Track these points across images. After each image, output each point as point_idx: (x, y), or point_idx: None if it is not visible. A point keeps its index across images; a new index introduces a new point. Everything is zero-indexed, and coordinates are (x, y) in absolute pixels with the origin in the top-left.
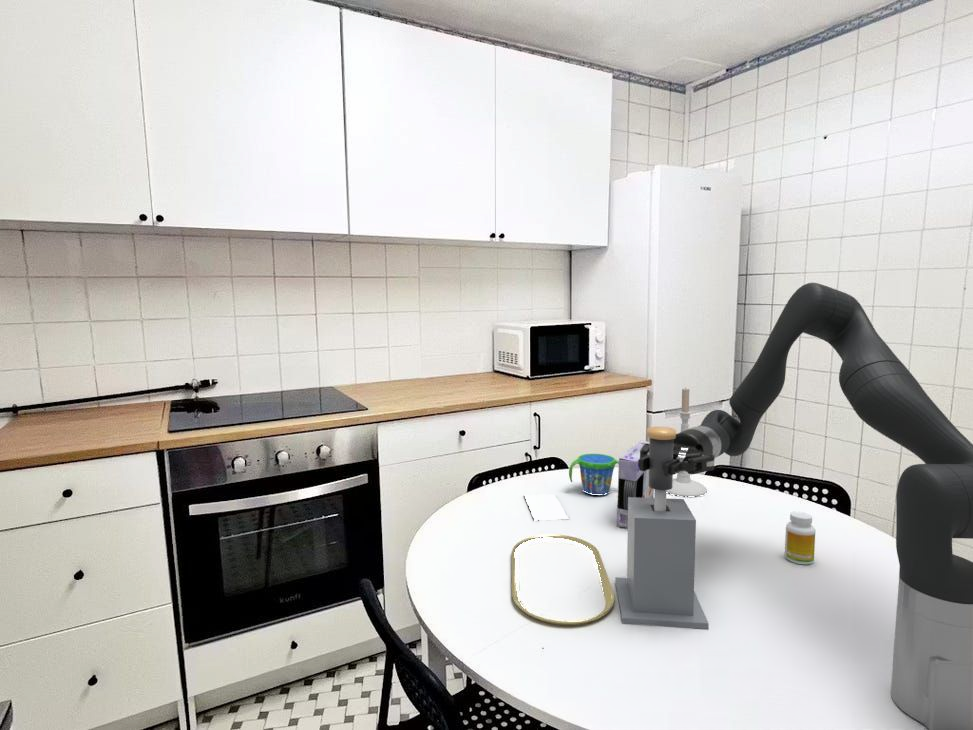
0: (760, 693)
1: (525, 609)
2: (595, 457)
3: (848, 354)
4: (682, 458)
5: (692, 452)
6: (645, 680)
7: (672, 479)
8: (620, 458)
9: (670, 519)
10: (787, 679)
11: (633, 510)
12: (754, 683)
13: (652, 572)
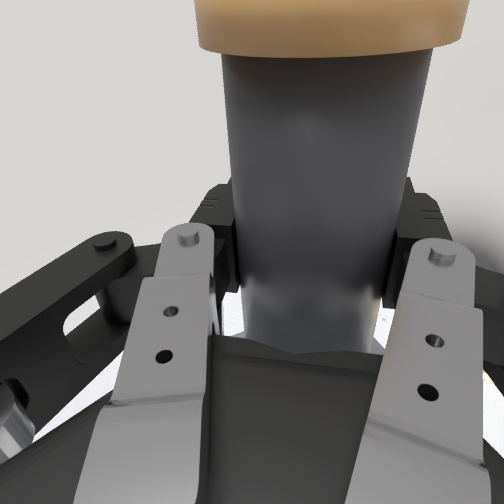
0: (101, 374)
1: (487, 378)
2: None
3: None
4: (173, 243)
5: (48, 498)
6: (242, 329)
7: (243, 320)
8: None
9: (234, 336)
10: (51, 422)
11: (374, 343)
12: (105, 389)
13: None
